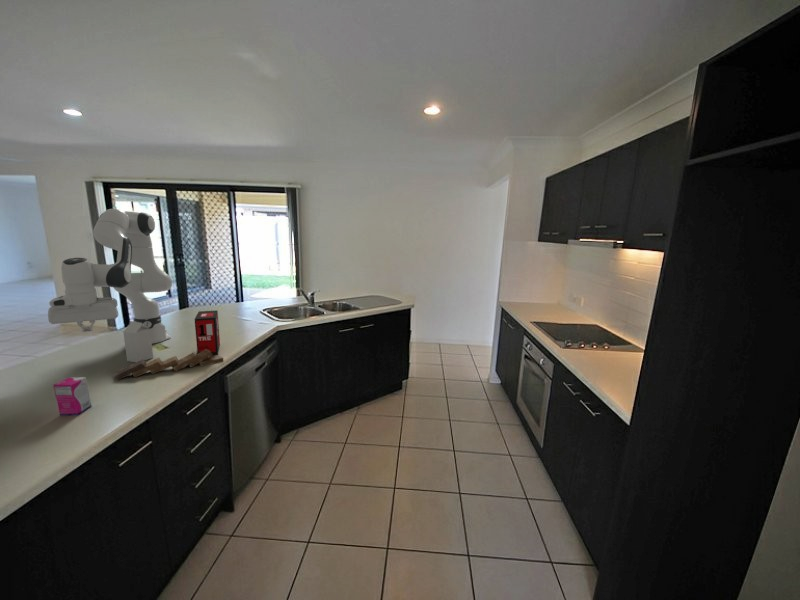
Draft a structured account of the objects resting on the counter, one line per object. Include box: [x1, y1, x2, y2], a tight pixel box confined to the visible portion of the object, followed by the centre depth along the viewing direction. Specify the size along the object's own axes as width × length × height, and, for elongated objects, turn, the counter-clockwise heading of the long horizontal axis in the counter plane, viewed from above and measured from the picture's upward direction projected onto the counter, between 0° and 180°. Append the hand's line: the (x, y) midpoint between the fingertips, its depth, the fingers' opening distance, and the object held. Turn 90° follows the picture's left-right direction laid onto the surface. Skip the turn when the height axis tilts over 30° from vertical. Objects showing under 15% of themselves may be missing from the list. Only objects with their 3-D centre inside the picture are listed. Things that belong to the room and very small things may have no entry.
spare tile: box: [114, 359, 147, 381], centre depth 136 cm, size 2×5×10 cm
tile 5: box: [187, 349, 213, 368], centre depth 151 cm, size 2×5×10 cm
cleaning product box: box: [194, 309, 221, 356], centre depth 167 cm, size 16×9×20 cm, turn 26°
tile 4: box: [171, 352, 198, 372], centre depth 147 cm, size 2×5×10 cm
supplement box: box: [52, 376, 93, 416], centre depth 108 cm, size 6×6×12 cm
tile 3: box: [149, 355, 179, 375], centre depth 143 cm, size 2×5×10 cm
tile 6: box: [197, 354, 224, 367], centre depth 155 cm, size 2×5×10 cm
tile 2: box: [132, 357, 162, 378], centre depth 139 cm, size 2×5×10 cm
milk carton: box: [122, 321, 154, 363], centre depth 152 cm, size 7×7×19 cm
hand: (87, 331), depth 130 cm, fingers closed
